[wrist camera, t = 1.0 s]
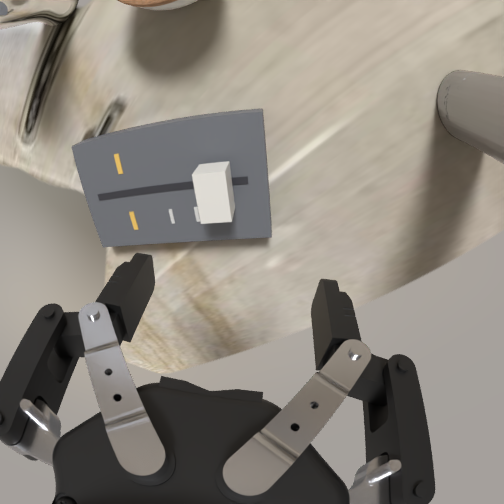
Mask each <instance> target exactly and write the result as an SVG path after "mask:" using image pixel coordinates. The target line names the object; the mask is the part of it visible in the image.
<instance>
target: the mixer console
mask: <svg viewBox="0 0 504 504" xmlns="http://www.w3.org/2000/svg"><path fill="white" fill-rule="evenodd" d="M72 150H73V154H74V158H75V162H76V166H77V170H78V173H79V177H80V180H81V184H82V187H83V190H84V194H85V197H86V200H87V203H88V206H89V209H90V212H91V215H92V218H93V221H94V224H95V227H96V229H97V232H98V235H99V237H100V240H101V243H102V246H103V247H113V246H128V245H143V244H159V243H175V242H192V241H210V240H228V239H247V238H267V237H272V230H271V211H270V196H269V182H268V168H267V155H266V143H265V130H264V118H263V109H251V110H239V111H229V112H220V113H212V114H204V115H197V116H191V117H184V118H178V119H172V120H167V121H161V122H156V123H151V124H146V125H141V126H137V127H132V128H128V129H124V130H120V131H116V132H112V133H108V134H104V135H100V136H97V137H93V138H90V139H86V140H83V141H81V142H79V143H77V144H75V145H74V146H72ZM226 161H229V162H230V170H231V178H232V186H233V194H234V202H235V210H234V215H233V219H232V222H222V223H207V224H201V222H200V217H199V211H198V206H197V201H196V195H195V190H194V184H193V179H192V174H193V172H194V171H195V170H196V168H197V167H198V165H199V164H206V163H216V162H226Z"/></svg>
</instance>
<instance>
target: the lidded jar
mask: <svg viewBox="0 0 504 504" xmlns="http://www.w3.org/2000/svg"><path fill="white" fill-rule="evenodd" d="M118 1H120V2H122V3H124V4H127V5H131V6H136V7H140V8H143V9H149V10H172V9H177V8H181V7H184V6H187V5H189V4H191V3H194V2H196V1H197V0H118Z"/></svg>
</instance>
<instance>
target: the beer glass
mask: <svg viewBox="0 0 504 504" xmlns="http://www.w3.org/2000/svg"><path fill="white" fill-rule="evenodd" d="M77 4H78V0H0V29H6V28H10V27H15V26H19V25H23V24H27V23H33V22H39V23H43V24H46V25H49V26H56V25H59V24H61V23H63V22H64V21H66V20H67V19H68V18H69V17H70V16H71V14H72V13H73V12H74V10H75V8H76V6H77Z"/></svg>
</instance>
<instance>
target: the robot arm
mask: <svg viewBox="0 0 504 504" xmlns="http://www.w3.org/2000/svg"><path fill="white" fill-rule="evenodd" d="M437 102H438V111H439V115H440V118H441V120H442V123H443V125H444V126H445V128H446V129H447V130H448V132H449V133H450V134H451V135H453V136H454V137H455V138H457V139H459V140H461V141H463V142H465V143H467V144H469V145H471V146H473V147H475V148H477V149H478V150H480V151H482V152H484V153H486V154H487V155H489V156H491V157H493V158H494V159H496V160H498V161H500V162H501V163H503V164H504V77H502V76H497V75H491V74H485V73H480V72H473V71H465V70H457V71H453V72H451V73H450V74H448V75H447V76H446V77H445V78H444V79H443V81H442V83H441V85H440V88H439V91H438V99H437ZM154 286H155V276H154V268H153V259H152V256H151V255H148V254H141V253H136V254H135V255H134V256H133V258H132V260H131V261H130V262H124V263H123V264H121V265H120V266H119V267H117V269H116V270H115V272H114V273H113V276H111V278H110V279H109V282H107V284H106V286H105V287H104V289H103V290H102V292H101V294H100V295H99V297H98V298H97V300H96V302H93V303H89V304H87V305H85V306H84V307H83V308H82V309H81V310H80V312H63V310H62V308H61V306H59V305H58V304H48V305H45V306H44V307H42V308H41V309H40V310H39V312H38V313H37V315H36V316H35V318H34V320H33V321H32V323H31V325H30V327H29V328H28V330H27V332H26V334H25V335H24V337H23V339H22V340H21V342H20V344H19V346H18V348H17V349H16V351H15V353H14V355H13V357H12V359H11V361H10V363H9V365H8V367H7V369H6V371H5V373H4V375H3V377H2V379H1V381H0V440H1V441H2V442H3V443H4V444H5V445H7V446H8V447H10V448H11V449H13V450H14V451H16V452H17V453H19V454H21V455H23V456H25V457H27V458H28V459H30V460H40V461H42V462H44V463H46V464H48V465H51V466H53V468H54V473H55V480H56V494H55V498H54V501H53V503H52V504H428V503H429V502H430V501H431V500H432V498H433V496H434V493H435V479H434V470H433V460H432V452H431V444H430V437H429V431H428V425H427V419H426V414H425V409H424V403H423V398H422V393H421V389H420V384H419V380H418V376H417V371H416V367H415V365H414V363H413V361H412V360H411V359H410V358H408V357H407V356H405V355H400V354H397V355H393V356H392V357H391V358H390V359H389V360H387V359H384V358H381V357H378V356H375V355H373V354H371V352H370V349H369V348H368V346H367V345H366V344H364V343H363V342H362V341H361V337H360V333H359V329H358V324H357V320H356V317H355V312H354V308H353V304H352V300H351V299H350V297H349V296H348V295H347V293H346V292H340V291H339V287H338V283H337V281H336V280H328V279H321V280H320V282H319V285H318V288H317V291H316V294H315V297H314V300H313V303H312V308H311V318H312V328H313V339H314V351H315V363H316V370H320V371H319V372H316V373H315V374H314V375H313V376H312V378H311V379H310V380H309V381H308V382H307V383H306V384H305V385H304V387H303V388H302V389H301V390H300V391H299V392H298V393H297V394H296V395H295V396H294V398H293V399H292V400H291V401H290V402H289V403H288V404H287V405H286V406H285V407H284V408H283V409H281V408H279V407H278V406H276V405H275V404H273V403H271V402H269V401H267V400H264V399H262V397H263V392H257V391H248V390H240V389H235V390H222V391H208V390H206V389H203V388H201V387H198V386H196V385H194V384H191V383H189V382H187V381H183V380H177V379H173V378H168V377H163V376H161V379H160V383H151V384H147V385H143V386H140V387H138V388H136V386H135V384H134V382H133V379H132V377H131V374H130V372H129V369H128V367H127V364H126V361H125V359H124V356H123V353H122V351H121V348H120V345H121V343H122V341H127V342H131V340H132V337H133V335H134V333H135V330H136V328H137V326H138V324H139V321H140V319H141V317H142V315H143V313H144V310H145V308H146V306H147V304H148V302H149V300H150V297H151V295H152V293H153V291H154ZM79 357H85V360H86V364H87V367H88V371H89V375H90V378H91V382H92V385H93V389H94V392H95V395H96V399H97V402H98V404H99V408H100V410H101V412H99V413H97V414H96V415H94V416H93V417H91V418H90V419H88V420H86V421H85V422H83V423H82V424H80V425H79V426H77V427H75V428H74V429H72V430H70V431H69V432H67V433H66V434H64V435H63V436H62V437H60V433H61V432H60V430H61V423H60V420H59V418H58V416H57V413H58V410H59V407H60V405H61V402H62V399H63V396H64V394H65V391H66V388H67V386H68V383H69V381H70V378H71V376H72V373H73V371H74V369H75V366H76V364H77V361H78V359H79ZM346 396H350V397H353V398H356V399H359V400H362V401H363V411H364V425H365V441H366V464H365V465H363V466H362V467H360V468H359V469H358V471H357V472H356V474H355V479H354V483H353V485H352V487H351V488H350V489H349V490H348V489H347V487H346V485H345V483H344V482H343V481H342V480H341V479H340V477H339V476H338V475H337V474H336V473H335V472H334V471H333V469H332V468H331V467H330V466H329V465H328V464H327V462H325V460H324V459H323V458H322V457H321V456H320V454H319V453H318V452H317V451H316V450H315V448H314V447H313V446H312V445H311V442H312V441H313V439H314V438H315V437H316V436H317V434H318V433H319V432H320V431H321V429H322V428H323V427H324V426H325V424H326V423H327V422H328V421H329V419H330V418H331V417H332V415H333V414H334V413H335V411H336V410H337V409H338V407H339V406H340V405H341V403H342V402H343V400H344V399H345V398H346Z"/></svg>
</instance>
